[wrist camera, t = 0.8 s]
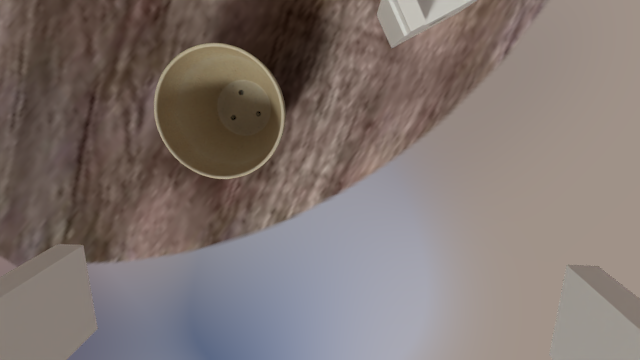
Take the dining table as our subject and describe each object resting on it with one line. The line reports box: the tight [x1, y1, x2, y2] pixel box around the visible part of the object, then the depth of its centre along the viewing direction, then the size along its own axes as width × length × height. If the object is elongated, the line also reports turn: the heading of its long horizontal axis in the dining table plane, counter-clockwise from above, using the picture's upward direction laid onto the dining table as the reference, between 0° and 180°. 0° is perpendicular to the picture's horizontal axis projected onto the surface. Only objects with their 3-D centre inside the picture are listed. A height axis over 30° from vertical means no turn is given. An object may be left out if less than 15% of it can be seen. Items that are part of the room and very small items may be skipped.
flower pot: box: [154, 43, 286, 179], centre depth 32 cm, size 10×10×7 cm
